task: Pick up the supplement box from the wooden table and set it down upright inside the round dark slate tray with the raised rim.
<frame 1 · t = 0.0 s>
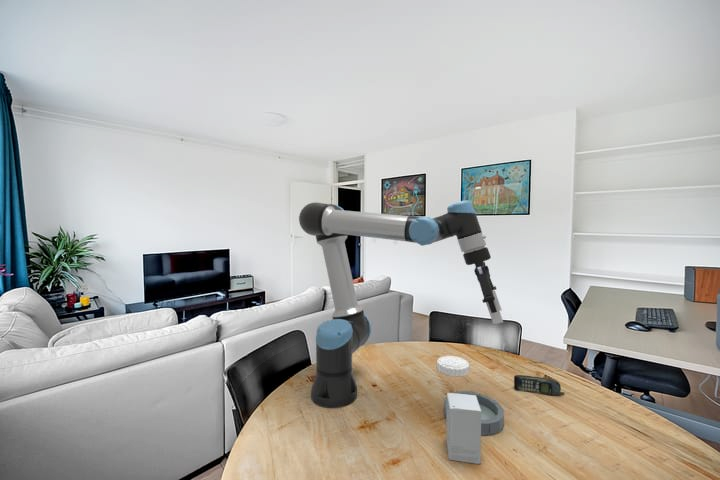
hand: (497, 316, 93), 28 cm above the table, tool tilted 20°, fingers open, 13 cm apart
round tray: (473, 417, 89), on the table
mobile phone: (538, 392, 103), on the table
mooncake: (452, 370, 119), on the table
supplement box: (462, 452, 75), on the table
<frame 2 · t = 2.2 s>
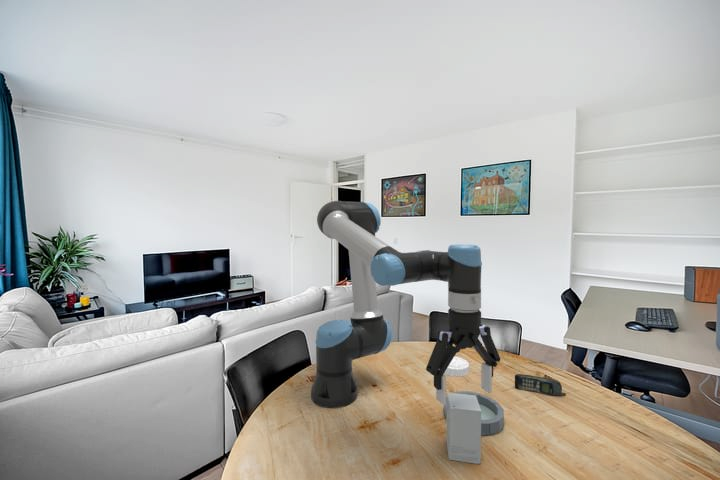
hand: (464, 396, 74), 14 cm above the table, tool pointing down, fingers open, 13 cm apart
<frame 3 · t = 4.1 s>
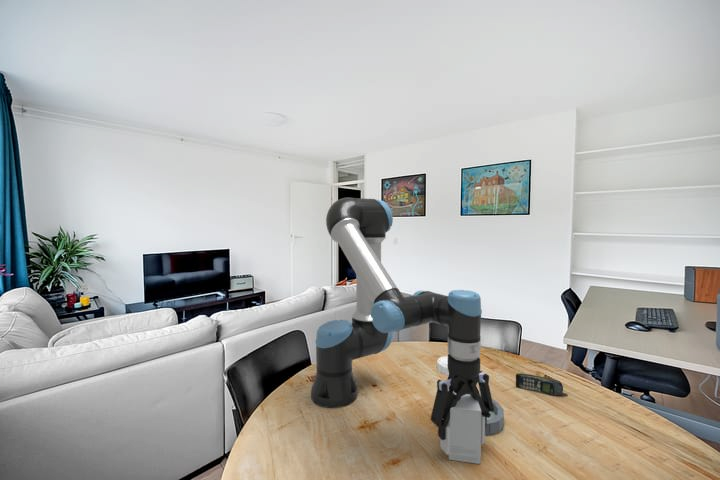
hand: (462, 445, 75), 2 cm above the table, tool pointing down, fingers closed on supplement box, 10 cm apart
supplement box: (462, 452, 75), on the table, touching gripper
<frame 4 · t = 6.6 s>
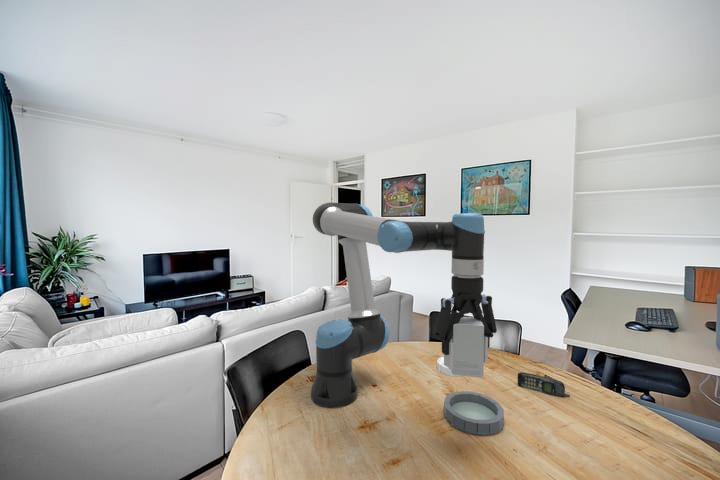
hand: (465, 363, 77), 21 cm above the table, tool pointing down, fingers closed on supplement box, 10 cm apart
supplement box: (465, 370, 77), point 19 cm above the table, touching gripper
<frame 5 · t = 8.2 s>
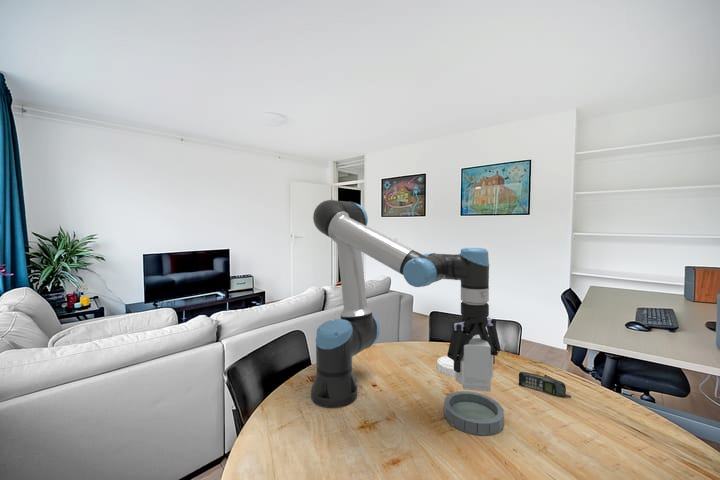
hand: (474, 379, 88), 11 cm above the table, tool pointing down, fingers closed on supplement box, 10 cm apart
supplement box: (474, 385, 88), point 10 cm above the table, touching gripper
when the fingers open (4 cm above the table, at t = 9.7 s): supplement box drops 1 cm, resting on round tray.
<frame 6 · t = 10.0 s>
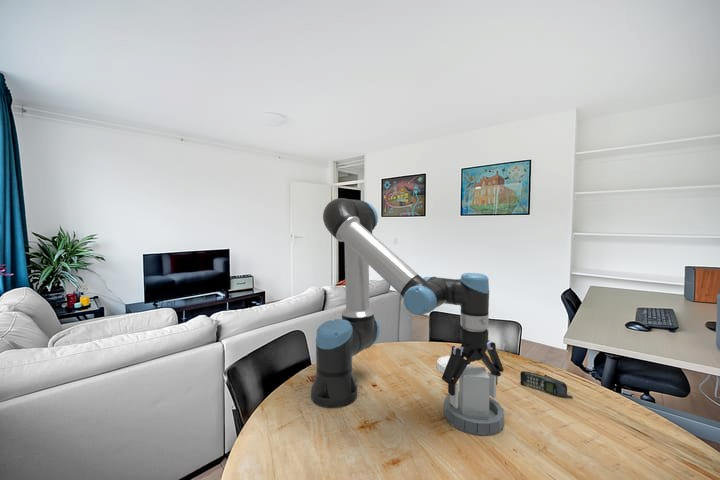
hand: (473, 400, 89), 5 cm above the table, tool pointing down, fingers open, 13 cm apart
supplement box: (473, 414, 89), point 1 cm above the table, touching round tray
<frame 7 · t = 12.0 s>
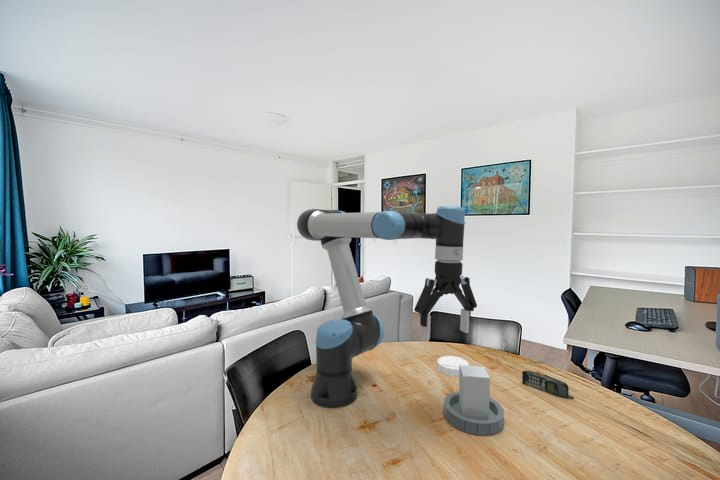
hand: (445, 334, 88), 24 cm above the table, tool pointing down, fingers open, 13 cm apart
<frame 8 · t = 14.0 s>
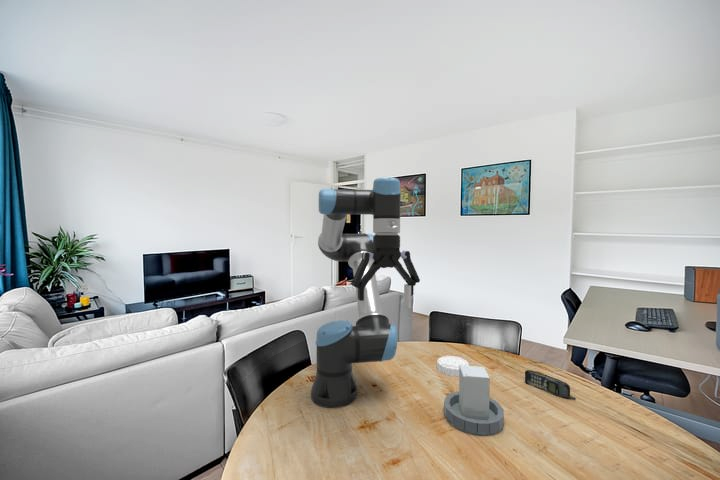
hand: (386, 309, 86), 32 cm above the table, tool pointing down, fingers open, 13 cm apart
at the end: supplement box inside the target area on the round tray (0.1 cm from its centre), point 0.8 cm above the round tray's base; supplement box tilted 0°; the gripper is holding nothing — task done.
